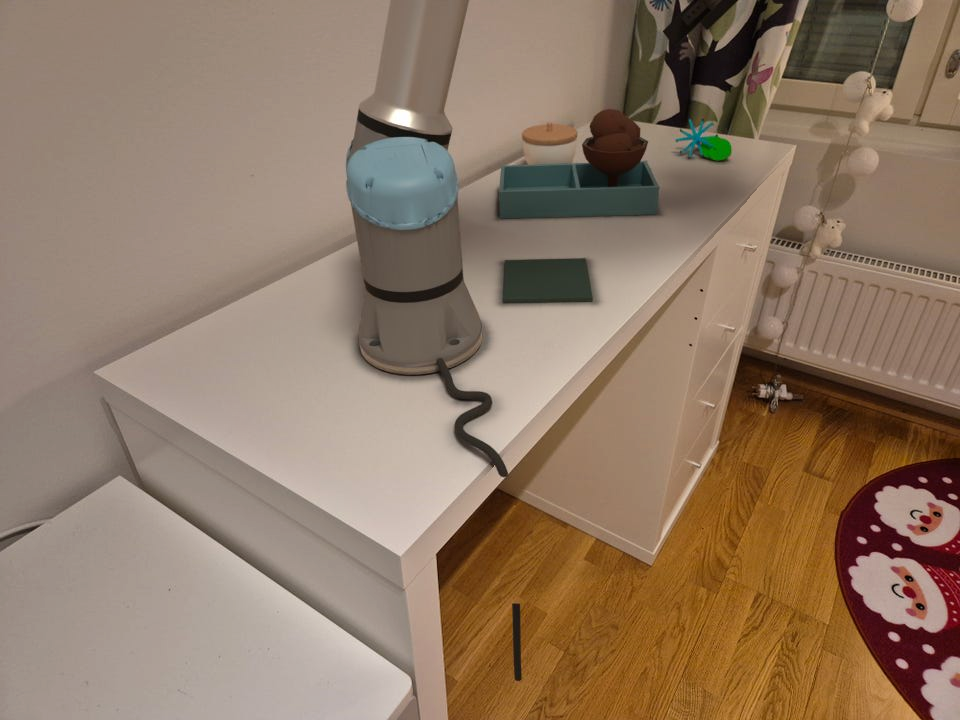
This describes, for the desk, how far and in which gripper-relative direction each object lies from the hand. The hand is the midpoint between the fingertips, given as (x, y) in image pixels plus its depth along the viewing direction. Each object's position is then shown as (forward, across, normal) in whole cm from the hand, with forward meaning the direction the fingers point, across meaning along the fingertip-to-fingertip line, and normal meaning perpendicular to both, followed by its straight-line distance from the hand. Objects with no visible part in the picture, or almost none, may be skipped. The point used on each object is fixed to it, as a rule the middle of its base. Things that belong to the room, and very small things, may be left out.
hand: (686, 30), depth 96 cm
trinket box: (+40, +9, 0) cm, 41 cm away
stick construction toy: (+23, +32, -17) cm, 43 cm away
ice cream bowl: (+26, 0, -12) cm, 29 cm away
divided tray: (+31, -3, -8) cm, 32 cm away
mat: (+23, -32, -15) cm, 43 cm away
